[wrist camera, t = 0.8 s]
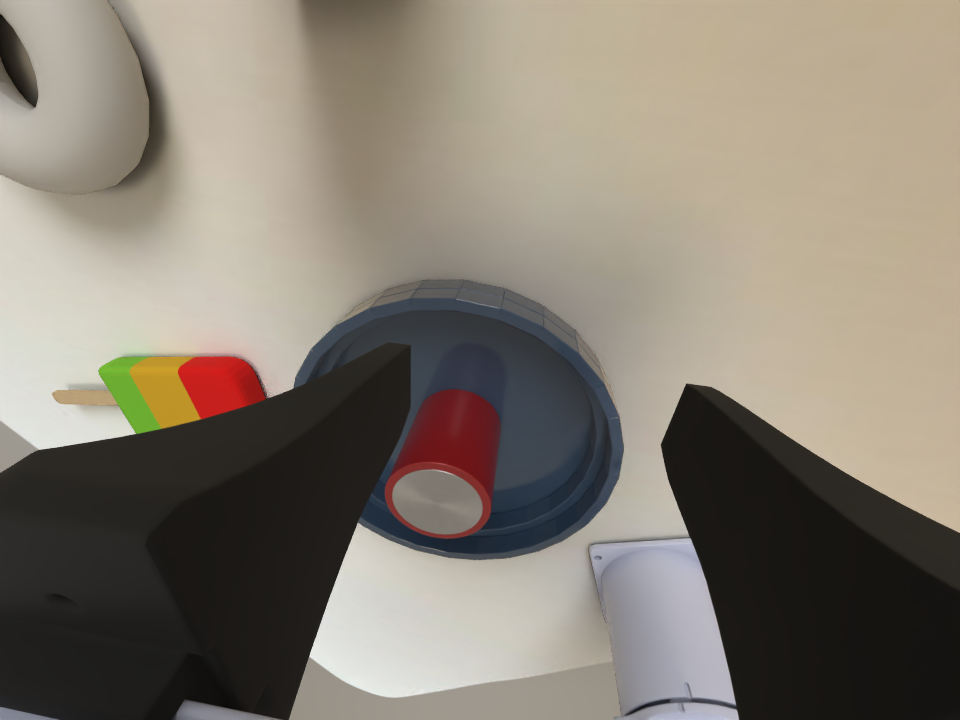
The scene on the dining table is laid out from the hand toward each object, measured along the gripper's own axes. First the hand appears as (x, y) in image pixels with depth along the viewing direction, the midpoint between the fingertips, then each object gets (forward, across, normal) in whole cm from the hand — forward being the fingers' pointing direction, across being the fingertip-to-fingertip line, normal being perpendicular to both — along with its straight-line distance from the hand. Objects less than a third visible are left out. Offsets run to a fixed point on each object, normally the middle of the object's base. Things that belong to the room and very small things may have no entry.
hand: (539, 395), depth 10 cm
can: (+10, +3, +10) cm, 14 cm away
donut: (+10, +22, -7) cm, 26 cm away
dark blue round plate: (+10, +3, +10) cm, 14 cm away
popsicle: (+10, +23, +11) cm, 28 cm away
